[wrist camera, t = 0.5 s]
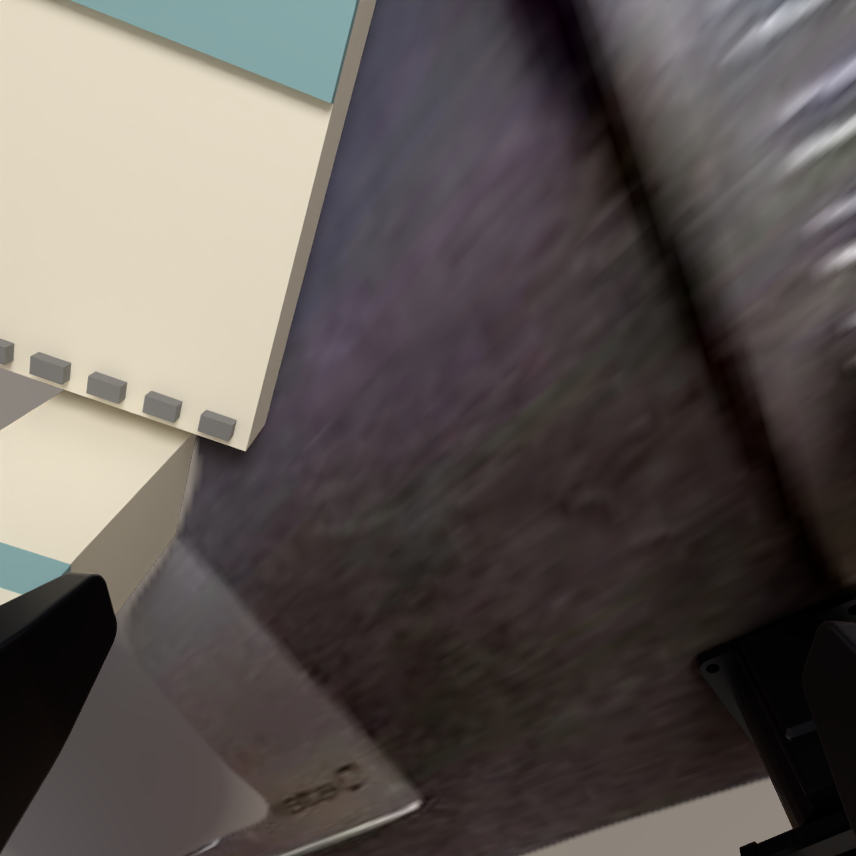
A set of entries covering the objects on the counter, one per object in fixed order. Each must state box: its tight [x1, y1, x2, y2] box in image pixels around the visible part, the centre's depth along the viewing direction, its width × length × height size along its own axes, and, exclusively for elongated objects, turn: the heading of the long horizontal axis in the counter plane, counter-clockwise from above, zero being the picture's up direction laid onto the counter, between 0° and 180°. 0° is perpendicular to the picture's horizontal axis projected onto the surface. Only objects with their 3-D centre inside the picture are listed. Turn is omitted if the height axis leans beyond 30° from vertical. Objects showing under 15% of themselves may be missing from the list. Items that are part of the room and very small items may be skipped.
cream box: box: [0, 390, 196, 615], centre depth 18 cm, size 5×5×11 cm
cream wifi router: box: [0, 0, 376, 451], centre depth 17 cm, size 9×16×2 cm, turn 160°
